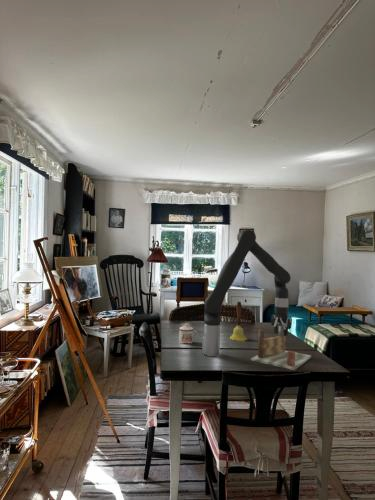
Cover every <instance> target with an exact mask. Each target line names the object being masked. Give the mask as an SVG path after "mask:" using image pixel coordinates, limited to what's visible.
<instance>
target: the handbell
mask: <svg viewBox="0 0 375 500" xmlns="http://www.w3.org/2000/svg"><path fill="white" fill-rule="evenodd" d="M242 310H243V309H242V302H241V301H237V302H236V326H235V327H234V328H233V333H232V334H231V336H229V337H230V339H232V340H231V341H233V340H237V341H236V342H246V341H245V340H247V341H248V338H247V337H246V335H244V328H243V327H241V315H242ZM230 339H229V340H230Z"/></svg>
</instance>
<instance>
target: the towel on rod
mask: <svg viewBox="0 0 375 500" xmlns="http://www.w3.org/2000/svg"><path fill="white" fill-rule="evenodd" d="M264 339H265V330H264V329H262V328H261V329H260V328H258V340H257V343H258V344H257V354H256V355H255V356H252V357H251V358H250V361H253V362H257V363H261V364H266V365H268V366H269V365H270V366H273V367H274V366H275V367H279V368H283V369H287V370H293V371H296V370H297V369H298V368H299V367H301V366H302V365H304V363H306V362H307V361H308V360H310V359H311V358H312V355H311V354H305V353H300V352H296V351H294V350H293V351H292V350H286V349H285V352H282V353H277V354H272V355H267V356H263V354H264Z"/></svg>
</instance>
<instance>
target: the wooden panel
mask: <svg viewBox="0 0 375 500" xmlns="http://www.w3.org/2000/svg"><path fill="white" fill-rule="evenodd" d="M286 337H287V336H284V327H283V325H278V335H277V336H273V337H267V338H265V337H264V354H263V356H267V355H272V354H277V353H282V352H285V350H286V339H287V338H286Z"/></svg>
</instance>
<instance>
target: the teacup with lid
mask: <svg viewBox="0 0 375 500" xmlns="http://www.w3.org/2000/svg"><path fill="white" fill-rule="evenodd" d="M178 331H179V335H178V336H179V339H178V341H180V342H182V343H191V342H193V343H194V340H195V339H197V337H198V335H199V334H198V331H196V330H194V328H193V327H192V326H190V325H189V324H188V323H184V325H183V326H180V327H179V329H178ZM194 333H195V336H194ZM193 339H194V340H193ZM180 342H179V343H180ZM191 344H192V343H191Z"/></svg>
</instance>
